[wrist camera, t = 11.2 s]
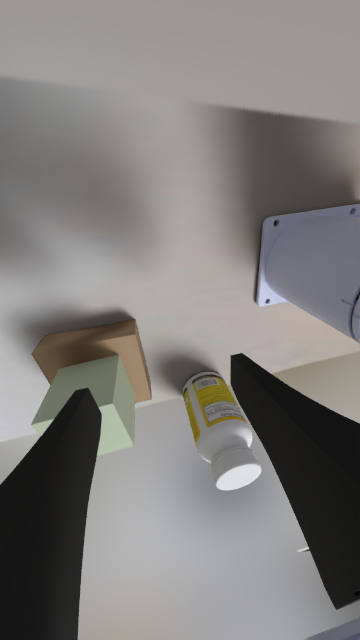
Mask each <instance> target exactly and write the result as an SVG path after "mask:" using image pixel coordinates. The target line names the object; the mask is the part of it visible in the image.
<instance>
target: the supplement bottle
mask: <svg viewBox="0 0 360 640" xmlns="http://www.w3.org/2000/svg"><path fill="white" fill-rule="evenodd" d="M183 397H184V401H185V405H186V409H187V413H188V416H189V420H190V424H191V428H192V431H193V435H194V439H195V443H196V447H197V450H198V452H199V454H200V456H201V457H202V458H203V459H204V460H205V461H207V462H210V463H211V472H212V475H213V478H214V481H215V484H216V486H217V487H218V488H219V489H221V490H233V489H237V488H240V487H243V486H245V485H247V484H249V483H251V482H252V481H253V480H255V479H256V478H257V477H258V476H259V475H260V473H261V466H260V464H259V462H258V460H257V458H256V456H255V454H254V452H253V450H252V449H251V448H249V447H250V445H251V442H252V432H251V430H250V428H249V425H248V424H247V422H246V420H245V418H244V416H243V414H242V412H241V410H240V408H239V407H238V405H237V403H236V401H235V399H234V397H233V395H232V394H231V392H230V390H229V388H228V386H227V384H226V383H225V381H224V379H223V378H222V377H221V376H220V375H219V374H217V373H214V372H202V373H199V374H196V375H194V376H193V377H191V378H190V379H189V380H188V381H187V382H186V384H185V385H184V388H183Z"/></svg>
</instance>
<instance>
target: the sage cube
mask: <svg viewBox="0 0 360 640" xmlns="http://www.w3.org/2000/svg"><path fill="white" fill-rule="evenodd" d="M84 388H89V390H90V392H91V394H92V396H93V398H94V399H95V401H96V403H97V405H98V407H99V409H100V411H101V413H102V422H101V435H100V441H99V447H98V452H97V456H100V455H103V454H106V453H110V452H114V451H117V450H121V449H124V448H128V447H131V446H134V421H135V413H134V412H135V392H134V390H133V387H132V385H131V383H130V380H129V378H128V375H127V373H126V370H125V368H124V365H123V363H122V360H121V358H120V355H119V354H118V355H114V356H110V357H106V358H102V359H98V360H94V361H89V362H85V363H81V364H77V365H73V366H69V367H65V368H61V369H59V370H58V372H57V374H56V376H55V378H54V380H53V382H52V384H51V386H50V388H49V390H48V392H47V394H46V396H45V398H44V400H43V402H42V404H41V406H40V408H39V410H38V412H37V414H36V416H35V418H34V420H33V422H32V424H31V426H32V427H33V428H34V429H35V430H36V431H37V432H38V433H39V434H40V436H42V434H43V433H44V432H45V430H46V429H47V428H48V426H49V425H50V424H51V422H52V421H53V420H54V418H55V417H56V416H57V414H58V413H59V412H60V410H61V409H62V408H63V406H64V405H65V404H66V402H67V401H68V399H69V398H70V397H71V395H72V394H73V393H74V392H75V390H79V389H84Z"/></svg>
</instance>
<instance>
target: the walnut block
mask: <svg viewBox="0 0 360 640" xmlns="http://www.w3.org/2000/svg"><path fill="white" fill-rule="evenodd" d="M118 354H119V355H120V358H121V360H122V363H123V365H124V368H125V370H126V373H127V375H128V378H129V380H130V383H131V385H132V387H133V390H134V392H135V403H137V402H142V401H146V400H151V399H152V395H151V382H150V377H149V373H148V369H147V365H146V360H145V356H144V352H143V348H142V344H141V340H140V336H139V332H138V328H137V324H136V319H135V320H130V321H124V322H118V323H113V324H107V325H101V326H96V327H90V328H85V329H79V330H73V331H68V332H62V333H56V334H51V335H45V336H44V337H43V339H42V340H41V341H40V343H39V344H38V345H37V347H36V348H35V350H34V351H33V352H32V356H33V357H34V359H35V361H36V362H37V364H38V365H39V367H40V369H41V370H42V372H43V374H44V375H45V377H46V379H47V380H48V382H49V384H50V385H51V384H52V382H53V380H54V378H55V376H56V374H57V372H58V370H59V369H61V368H65V367H69V366H73V365H77V364H81V363H85V362H89V361H94V360H98V359H102V358H106V357H110V356H114V355H118Z"/></svg>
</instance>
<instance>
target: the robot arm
mask: <svg viewBox="0 0 360 640" xmlns="http://www.w3.org/2000/svg"><path fill="white" fill-rule="evenodd" d="M350 211H351V213H350ZM275 220H277V223H276V225H275V226H274V221H275ZM267 299H268V300H267ZM266 300H267V302H265V301H266ZM288 301H289V302H291V303H292V304H294V305H296V306H297V307H299V308H301V309H303V310H304V311H306V312H308V313H309V314H311V315H313V316H314V317H316V318H318V319H320V320H321V321H323V322H325V323H326V324H328V325H330V326H331V327H333V328H335V329H337V330H338V331H340V332H342V333H343V334H345V335H347V336H348V337H350V338H352V339H354V340H355V341H357V342H359V343H360V204H353V205H346V206H339V207H332V208H326V209H319V210H312V211H305V212H299V213H292V214H285V215H278V216H271V217H267V218H266V219H265V220H264V222H263V228H262V240H261V252H260V264H259V276H258V288H257V300H256V303H257V305H258V306H260V307H263V306H268V305H273V304H278V303H283V302H288ZM231 386H232V388H233V391H234V393H235V395H236V397H237V400H238V402H239V404H240V406H241V407H242V409H243V411H244V413H245V414H246V416H247V418H248V420H249V421H250V423H251V425H252V427H253V428H254V430H255V432H256V433H257V435H258V437H259V439H260V441H261V442H262V444H263V446H264V448H265V450H266V452H267V454H268V455H269V458H270V460H271V462H272V464H273V466H274V469H275V470H276V473H277V475H278V477H279V479H280V482H281V484H282V486H283V488H284V491H285V493H286V495H287V497H288V499H289V502H290V504H291V506H292V509H293V511H294V513H295V516H296V518H297V520H298V523H299V525H300V527H301V530H302V532H303V534H304V537H305V539H306V542H307V544H308V547H309V549H310V552H311V554H312V556H313V559H314V561H315V564H316V566H317V569H318V571H319V574H320V577H321V579H322V582H323V584H324V587H325V589H326V591H327V593H328V595H329V597H330V599H331V601H332V603H333V605H334V607H335V608H336V610H337V609H340V608H343V607H345V606H348V605H350V604H353V603H356V602H358V601H360V424H359V423H357V422H355V421H353V420H351V419H349V418H347V417H344V416H342V415H340V414H338V413H336V412H334V411H332V410H330V409H328V408H327V407H325V406H323V405H321V404H319V403H317V402H315V401H314V400H312V399H310V398H308V397H306V396H304V395H303V394H301V393H300V392H298V391H296V390H295V389H293V388H291V387H290V386H288V385H287V384H285V383H284V382H282V381H280V380H279V379H278V378H276V377H275V376H273V375H272V374H270V373H269V372H268V371H266V370H265V369H263V368H262V367H261V366H259V365H258V364H256V363H255V362H254V361H252V360H251V359H250V358H248V357H247V356H245V355H244V354H243V353H240V354H235V355H231ZM101 422H102V413H101V411H100V409H99V407H98V405H97V403H96V401H95V399H94V398H93V396H92V394H91V392H90V390H89V388H84V389H79V390H75V392H74V393H73V394H72V395H71V397H70V398H69V399H68V401H67V402H66V404H65V405H64V406H63V408H62V409H61V410H60V412H59V413H58V414H57V416H56V417H55V418H54V420H53V421H52V422H51V424H50V425H49V426H48V428H47V429H46V430H45V432H44V433H43V434H42V436H41V437H40V438H39V439H38V441H37V442H36V443H35V444H34V446H33V447H32V448H31V449H30V451H29V452H28V453H27V454H26V455H25V457H24V458H23V459H22V460H21V462H20V463H19V464H18V465H17V466H16V468H15V469H14V470H13V471H12V472H11V473H10V475H9V476H8V477H7V478H6V479H5V480H4V481H3V482H2V484H1V485H0V640H77V637H78V617H79V600H80V599H79V598H80V584H81V570H82V559H83V546H84V536H85V526H86V517H87V508H88V501H89V494H90V489H91V483H92V478H93V473H94V468H95V462H96V457H97V452H98V447H99V441H100V435H101ZM303 640H360V618H358V619H355V620H352V621H350V622H347V623H345V624H342V625H339V626H337V627H334V628H332V629H329V630H327V631H324V632H321V633H319V634H316V635H314V636H311V637H309V638H306V639H303Z"/></svg>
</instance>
